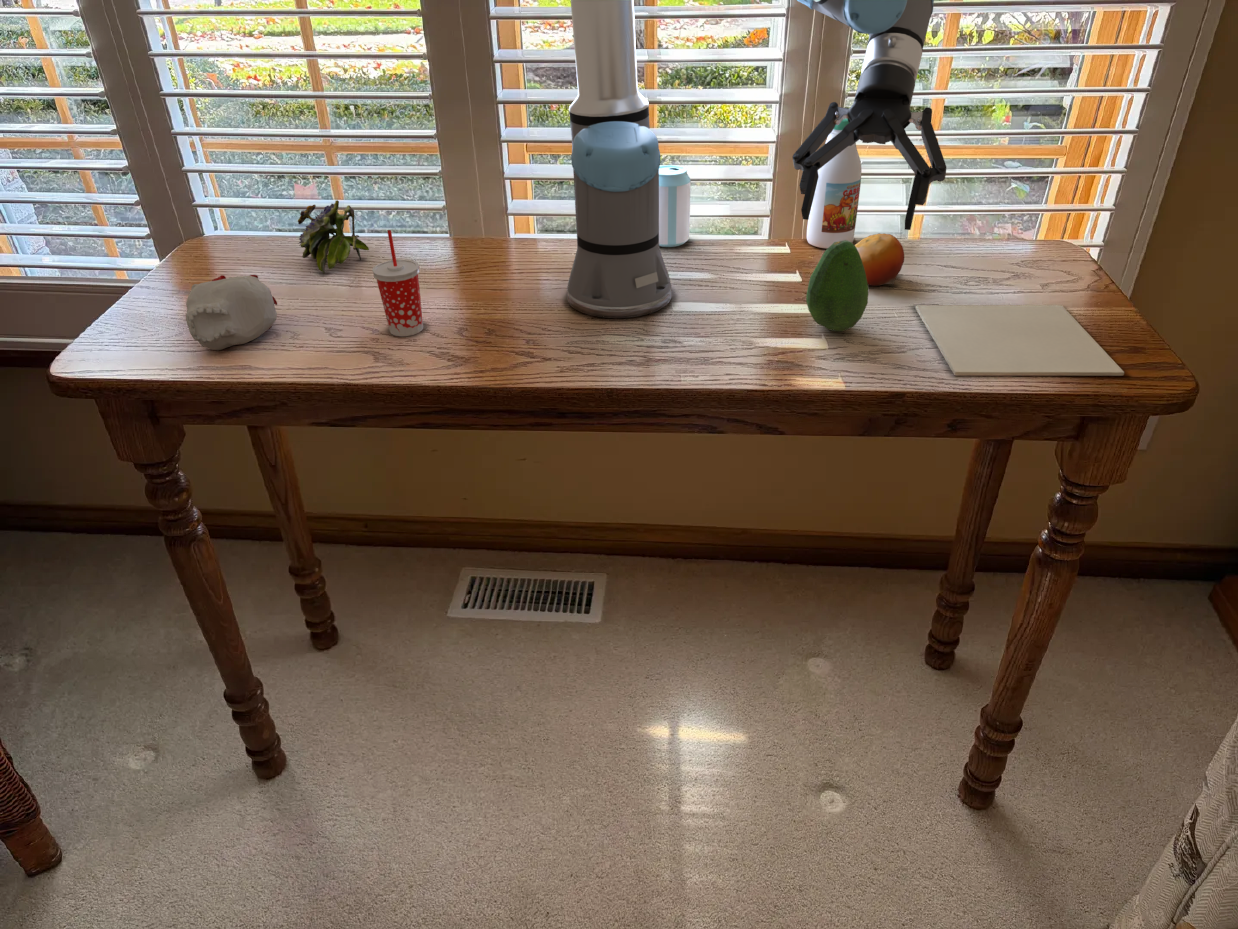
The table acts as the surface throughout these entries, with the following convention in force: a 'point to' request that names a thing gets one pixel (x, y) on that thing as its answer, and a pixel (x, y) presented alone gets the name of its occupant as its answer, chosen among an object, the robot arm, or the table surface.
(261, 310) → the grey rounded lump
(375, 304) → the table surface
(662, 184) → the can
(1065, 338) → the corner mat
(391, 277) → the beverage cup
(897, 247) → the fruit
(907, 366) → the table surface
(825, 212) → the milk bottle
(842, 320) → the avocado
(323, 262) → the passion flower
